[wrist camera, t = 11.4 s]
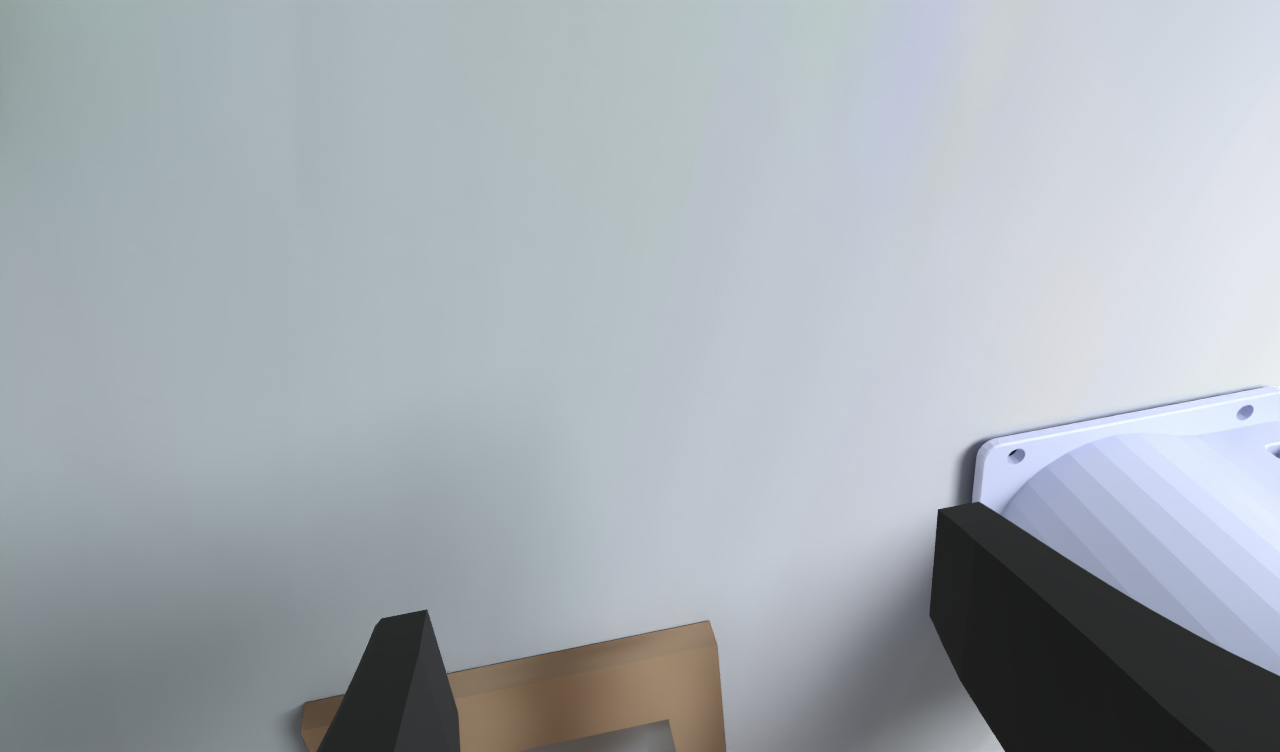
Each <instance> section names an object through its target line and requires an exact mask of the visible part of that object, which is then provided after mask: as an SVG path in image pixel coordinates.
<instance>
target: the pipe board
mask: <svg viewBox="0 0 1280 752" xmlns="http://www.w3.org/2000/svg"><path fill="white" fill-rule="evenodd" d="M447 677H448V680H449V684H450V687H451V690H452V694H453V697H454V700H455V704H456V707H457V710H458V716H459V734H460V751H461V752H726V744H725V732H724V719H723V707H722V695H721V683H720V671H719V659H718V647H717V643H716V640H715V636H714V633H713V630H712V627H711V624H710V621H706V622H701V623H696V624H691V625H686V626H681V627H676V628H671V629H666V630H662V631H657V632H652V633H647V634H642V635H637V636H632V637H627V638H622V639H617V640H612V641H607V642H602V643H598V644H593V645H588V646H583V647H578V648H573V649H568V650H563V651H558V652H553V653H548V654H543V655H538V656H534V657H529V658H524V659H519V660H514V661H509V662H504V663H499V664H494V665H489V666H484V667H479V668H474V669H470V670H465V671H460V672H455V673H450V674H447ZM344 696H345V695H342V696H337V697H332V698H327V699H322V700H317V701H312V702H307V703H305V707H304V712H303V717H302V722H301V728H300V733H301V735H302V737H303V740H304V742H305V744H306V746H307V749H308V751H309V752H316V751H317V750H318V748H319V746H320V744H321V742H322V740H323V738H324V736H325V734H326V732H327V730H328V728H329V726H330V724H331V722H332V720H333V718H334V716H335V714H336V712H337V710H338V708H339V706H340V704H341V702H342V700H343V698H344Z"/></svg>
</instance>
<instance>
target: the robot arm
mask: <svg viewBox="0 0 1280 752" xmlns="http://www.w3.org/2000/svg"><path fill="white" fill-rule="evenodd" d="M1016 449H1017V451H1016V452H1015V453H1014V454H1013V455H1010V456H1009V454H1010V453H1011V452H1012V451H1013V450H1016ZM930 617H931V620H932V622H933V624H934V626H935V628H936V631H937V633H938V635H939V637H940V639H941V641H942V644H943V646H944V648H945V650H946V652H947V654H948V656H949V658H950V660H951V663H952V665H953V667H954V669H955V671H956V673H957V675H958V677H959V679H960V681H961V682H962V684H963V686H964V687H965V689H966V690H967V692H968V694H969V695H970V697H971V698H972V700H973V702H974V703H975V705H976V706H977V708H978V710H979V711H980V713H981V714H982V716H983V718H984V719H985V721H986V722H987V724H988V725H989V727H990V729H991V730H992V732H993V733H994V735H995V736H996V738H997V740H998V741H999V743H1000V744H1001V746H1002V747H1003V749H1004V750H1005V752H1280V387H1279V386H1269V387H1264V388H1258V389H1253V390H1248V391H1242V392H1237V393H1232V394H1227V395H1221V396H1216V397H1211V398H1205V399H1200V400H1195V401H1190V402H1184V403H1179V404H1174V405H1168V406H1163V407H1158V408H1153V409H1147V410H1142V411H1137V412H1131V413H1126V414H1121V415H1116V416H1110V417H1105V418H1100V419H1094V420H1089V421H1084V422H1079V423H1073V424H1068V425H1063V426H1057V427H1052V428H1047V429H1042V430H1036V431H1031V432H1026V433H1020V434H1015V435H1010V436H1005V437H999V438H994V439H992V440H989V441H987V442H986V443H984V444H983V445H982V446H981V448H980V449H979V450H978V453H977V458H976V467H975V477H974V486H973V496H972V503H969V504H963V505H958V506H953V507H948V508H943V509H938V517H937V529H936V541H935V554H934V566H933V578H932V591H931V603H930ZM316 752H461V751H460V734H459V716H458V710H457V707H456V704H455V700H454V697H453V694H452V690H451V687H450V684H449V680H448V677H447V674H446V670H445V667H444V664H443V660H442V657H441V654H440V650H439V647H438V644H437V640H436V637H435V634H434V630H433V627H432V624H431V621H430V617H429V614H428V611H427V610H422V611H417V612H412V613H407V614H402V615H397V616H392V617H387V618H382V619H381V620H380V621H379V622H378V623H377V625H376V626H375V628H374V630H373V633H372V635H371V638H370V640H369V642H368V645H367V647H366V649H365V652H364V654H363V656H362V659H361V661H360V663H359V666H358V668H357V670H356V672H355V674H354V677H353V679H352V681H351V683H350V685H349V687H348V690H347V692H346V694H345V696H344V698H343V700H342V702H341V704H340V706H339V708H338V710H337V712H336V714H335V716H334V718H333V720H332V722H331V724H330V726H329V728H328V730H327V732H326V734H325V736H324V738H323V740H322V742H321V744H320V746H319V748H318V750H317V751H316Z"/></svg>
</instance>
